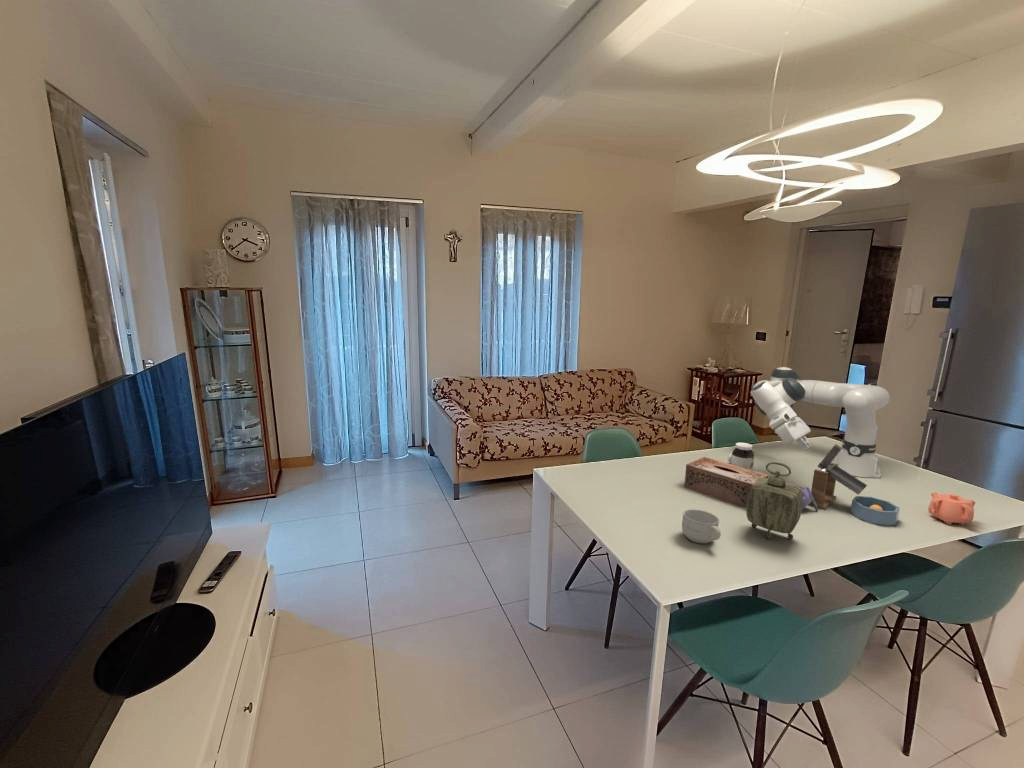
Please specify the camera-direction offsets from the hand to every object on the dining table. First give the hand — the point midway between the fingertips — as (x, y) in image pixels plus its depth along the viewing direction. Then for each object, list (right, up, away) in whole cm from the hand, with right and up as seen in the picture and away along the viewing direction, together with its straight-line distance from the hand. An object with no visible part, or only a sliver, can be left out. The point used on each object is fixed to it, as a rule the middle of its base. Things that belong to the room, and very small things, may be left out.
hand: (808, 448), depth 176 cm
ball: (+15, -20, -13) cm, 29 cm away
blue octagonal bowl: (+15, -23, -13) cm, 30 cm away
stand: (+4, -20, -1) cm, 21 cm away
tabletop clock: (-30, -25, -27) cm, 48 cm away
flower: (-7, -22, -7) cm, 24 cm away
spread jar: (-10, -14, +34) cm, 38 cm away
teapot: (+41, -24, -14) cm, 49 cm away
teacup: (-54, -25, -31) cm, 67 cm away
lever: (+7, -11, -6) cm, 14 cm away
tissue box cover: (-30, -19, +6) cm, 36 cm away
